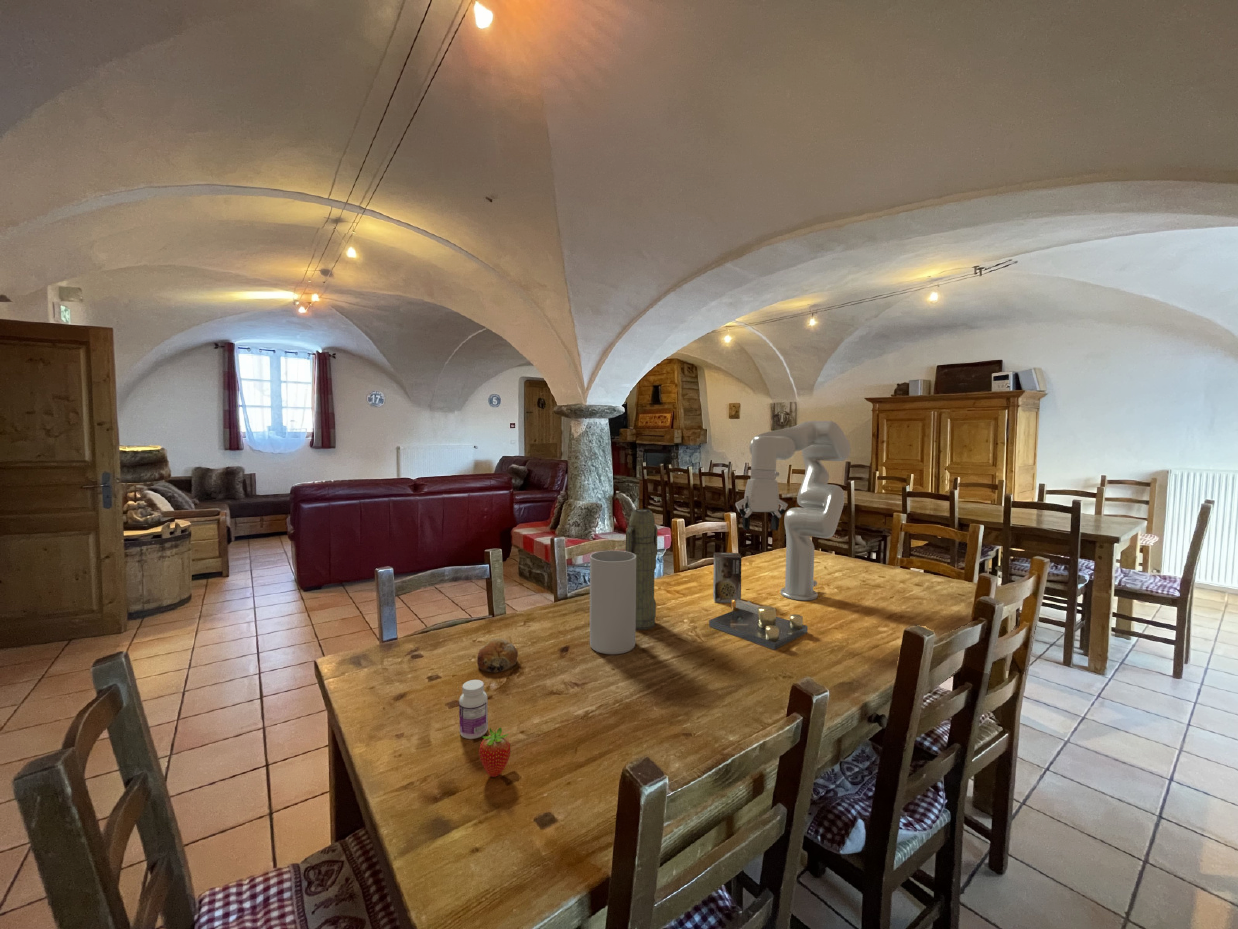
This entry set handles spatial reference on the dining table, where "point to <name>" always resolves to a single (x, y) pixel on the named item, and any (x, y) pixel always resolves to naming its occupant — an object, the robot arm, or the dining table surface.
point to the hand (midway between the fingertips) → (760, 529)
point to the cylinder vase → (612, 601)
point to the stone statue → (643, 564)
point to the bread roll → (497, 656)
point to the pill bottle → (473, 710)
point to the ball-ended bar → (757, 612)
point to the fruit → (494, 752)
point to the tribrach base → (748, 629)
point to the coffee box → (727, 577)
